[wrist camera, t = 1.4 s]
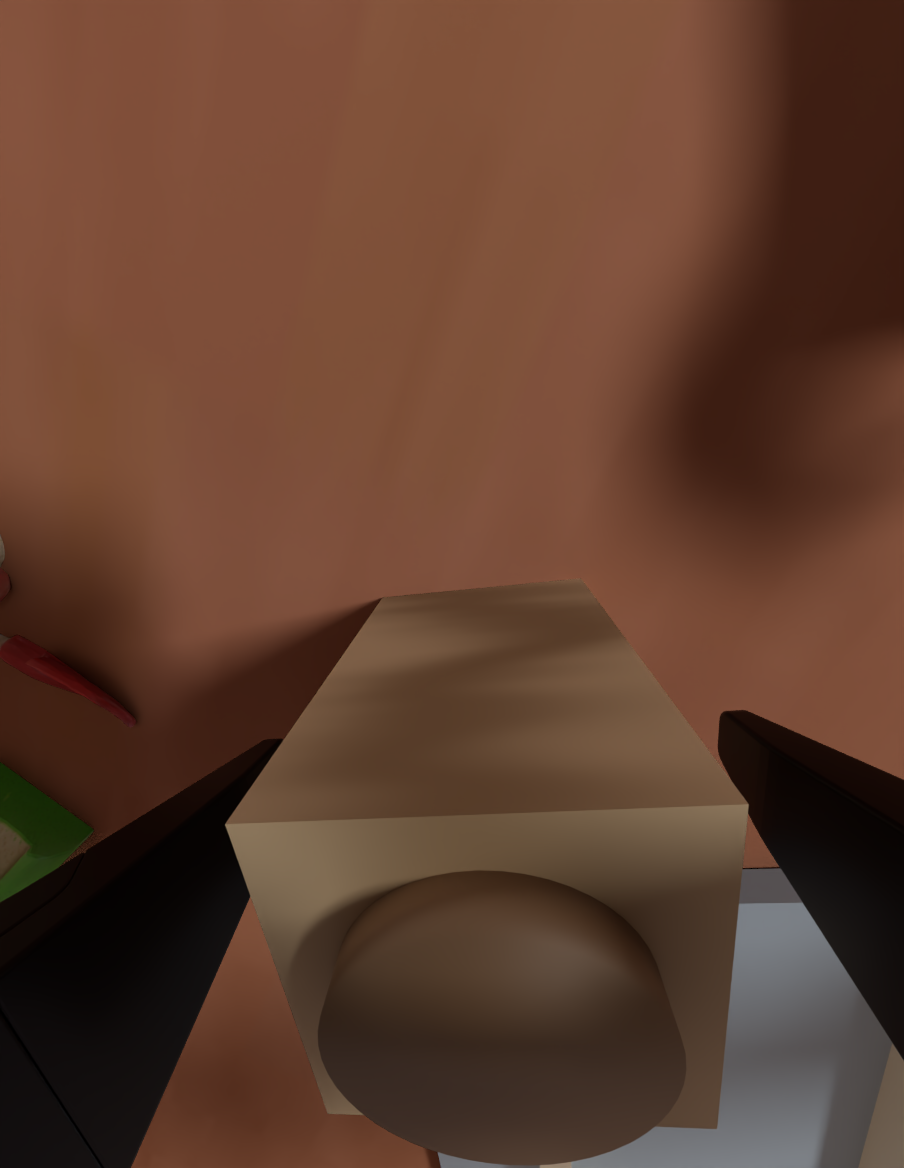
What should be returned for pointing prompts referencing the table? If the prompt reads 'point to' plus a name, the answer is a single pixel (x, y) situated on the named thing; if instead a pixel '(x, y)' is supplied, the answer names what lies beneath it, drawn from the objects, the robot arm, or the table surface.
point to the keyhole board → (784, 1059)
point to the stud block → (500, 881)
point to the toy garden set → (15, 807)
